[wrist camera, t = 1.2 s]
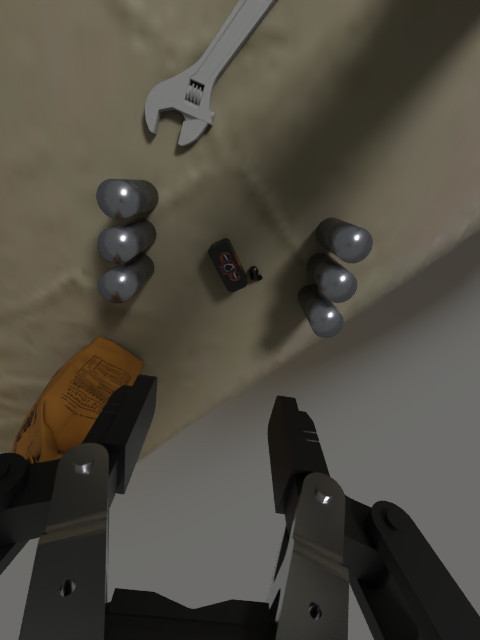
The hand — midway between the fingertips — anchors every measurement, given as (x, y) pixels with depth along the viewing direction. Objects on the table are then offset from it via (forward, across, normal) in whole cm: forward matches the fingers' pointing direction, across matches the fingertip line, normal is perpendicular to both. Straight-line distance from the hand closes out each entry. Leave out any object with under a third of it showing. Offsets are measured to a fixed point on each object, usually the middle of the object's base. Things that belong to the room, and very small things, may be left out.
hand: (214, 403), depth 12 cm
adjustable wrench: (+30, +3, -21) cm, 37 cm away
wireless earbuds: (+30, -1, +1) cm, 30 cm away
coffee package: (+30, +17, +22) cm, 41 cm away
